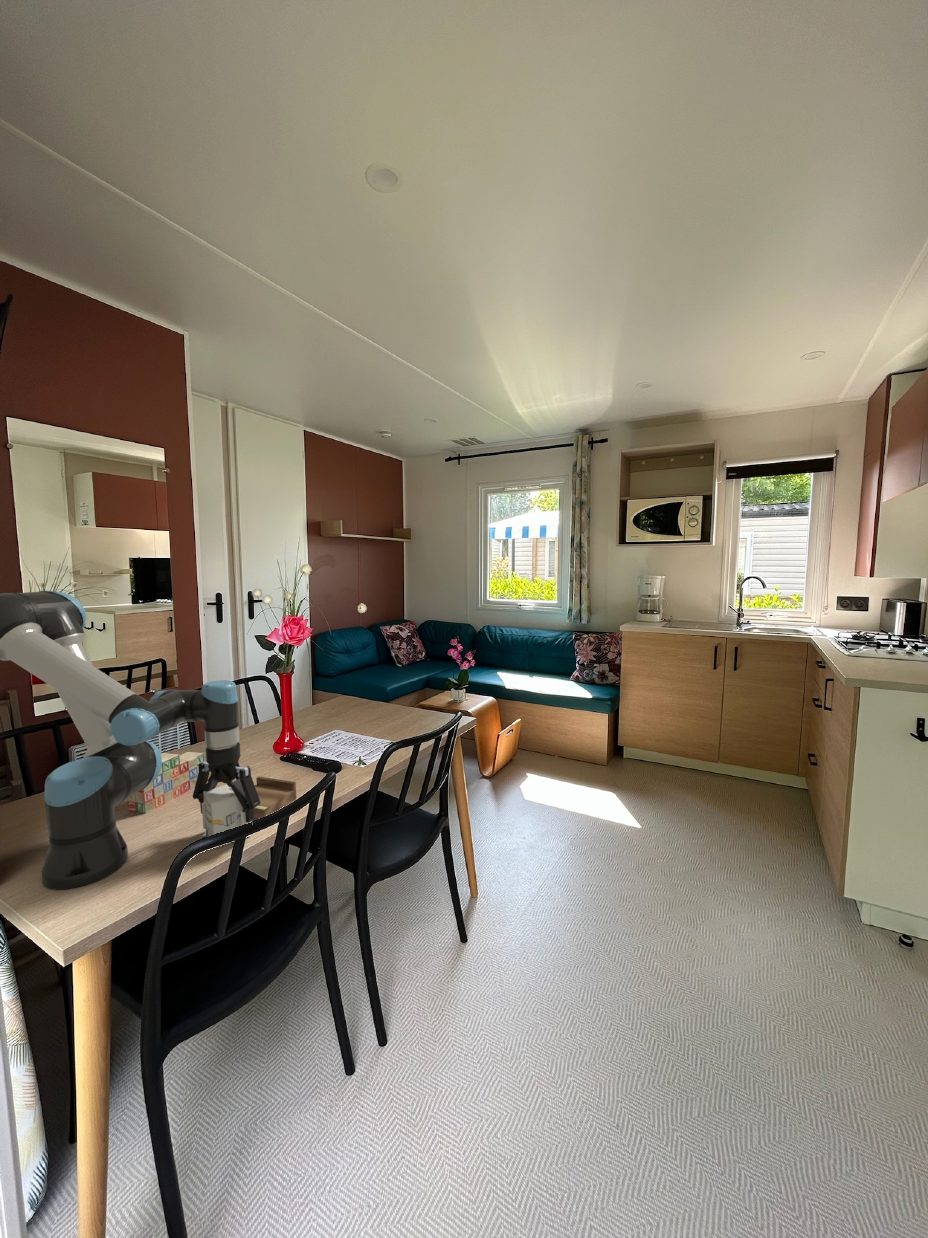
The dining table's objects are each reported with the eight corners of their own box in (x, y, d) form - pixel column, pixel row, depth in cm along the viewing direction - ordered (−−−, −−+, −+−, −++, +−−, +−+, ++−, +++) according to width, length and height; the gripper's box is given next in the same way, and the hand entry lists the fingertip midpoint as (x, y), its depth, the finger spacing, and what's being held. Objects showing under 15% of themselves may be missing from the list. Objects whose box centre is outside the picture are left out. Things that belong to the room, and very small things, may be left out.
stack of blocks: (190, 779, 154) (187, 742, 153) (206, 781, 153) (204, 743, 152) (127, 811, 134) (124, 768, 133) (145, 814, 132) (142, 771, 131)
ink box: (205, 835, 121) (202, 790, 120) (240, 823, 127) (238, 780, 126) (213, 850, 115) (210, 802, 114) (251, 837, 120) (248, 792, 119)
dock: (264, 820, 128) (264, 802, 128) (225, 813, 132) (224, 795, 132) (296, 798, 141) (295, 782, 140) (259, 792, 145) (258, 776, 144)
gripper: (273, 744, 118) (277, 829, 121) (197, 734, 126) (202, 815, 128) (251, 755, 111) (255, 846, 114) (172, 744, 119) (178, 829, 121)
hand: (227, 829), depth 121 cm, fingers closed on ink box, 11 cm apart
